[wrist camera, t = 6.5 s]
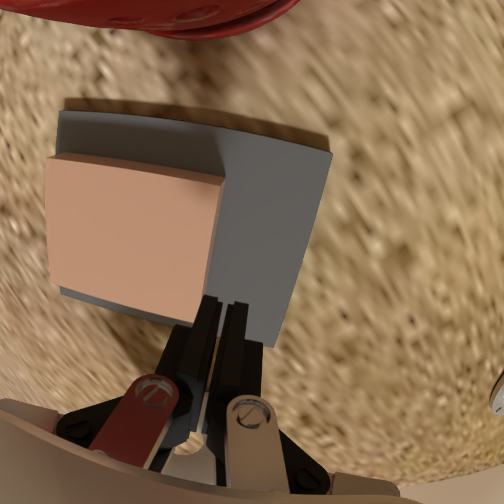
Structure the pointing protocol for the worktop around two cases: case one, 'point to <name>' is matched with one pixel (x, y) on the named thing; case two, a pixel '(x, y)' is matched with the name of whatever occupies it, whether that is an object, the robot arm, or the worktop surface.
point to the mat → (222, 204)
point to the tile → (131, 231)
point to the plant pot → (159, 15)
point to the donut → (194, 459)
